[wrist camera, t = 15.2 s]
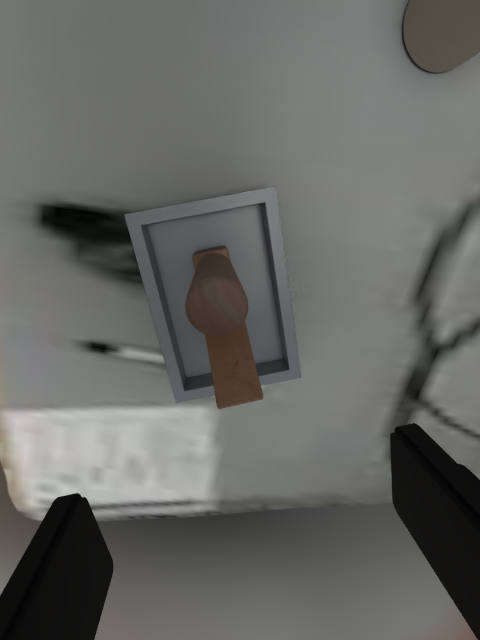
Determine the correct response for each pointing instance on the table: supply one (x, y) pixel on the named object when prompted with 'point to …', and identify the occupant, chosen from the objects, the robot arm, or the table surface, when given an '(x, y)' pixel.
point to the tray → (250, 266)
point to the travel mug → (442, 32)
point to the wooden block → (223, 326)
